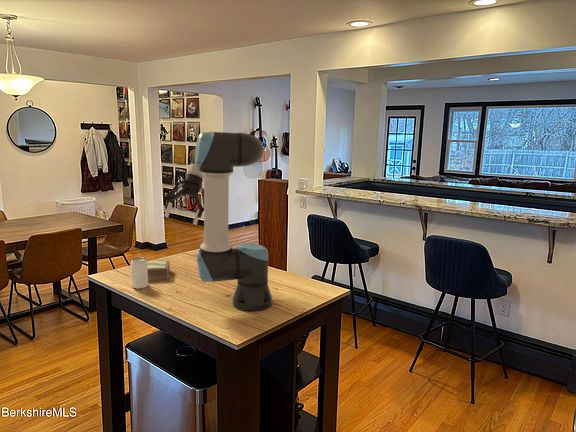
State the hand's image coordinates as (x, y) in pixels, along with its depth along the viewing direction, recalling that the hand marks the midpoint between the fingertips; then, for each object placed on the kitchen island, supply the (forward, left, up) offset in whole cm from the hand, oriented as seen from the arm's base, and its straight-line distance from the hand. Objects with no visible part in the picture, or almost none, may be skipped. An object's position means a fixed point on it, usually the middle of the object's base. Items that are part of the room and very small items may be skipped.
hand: (180, 220), depth 182 cm
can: (-9, +17, -27) cm, 33 cm away
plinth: (+5, +12, -26) cm, 29 cm away
